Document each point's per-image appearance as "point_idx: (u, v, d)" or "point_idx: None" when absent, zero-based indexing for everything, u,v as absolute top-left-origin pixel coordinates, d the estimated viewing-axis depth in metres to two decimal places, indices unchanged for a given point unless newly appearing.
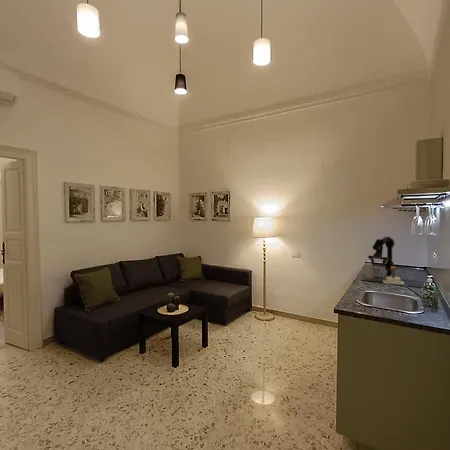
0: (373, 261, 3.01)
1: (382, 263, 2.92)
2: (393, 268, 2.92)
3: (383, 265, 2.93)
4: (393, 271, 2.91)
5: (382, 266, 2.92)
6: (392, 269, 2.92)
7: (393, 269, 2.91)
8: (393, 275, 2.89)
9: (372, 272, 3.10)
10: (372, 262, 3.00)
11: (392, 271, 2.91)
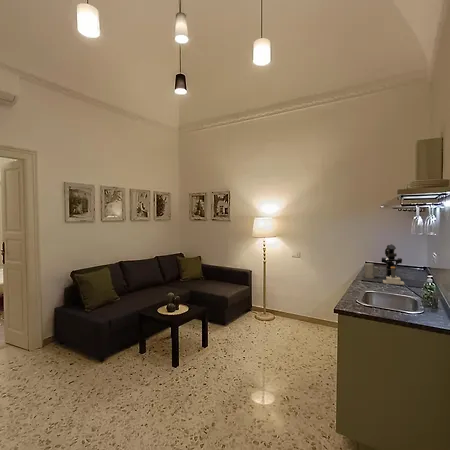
0: (387, 263, 3.06)
1: None
2: (393, 268, 2.92)
3: None
4: (393, 271, 2.91)
5: None
6: (392, 269, 2.92)
7: (393, 269, 2.91)
8: (393, 275, 2.89)
9: (372, 272, 3.10)
10: (387, 263, 3.04)
11: (392, 271, 2.91)
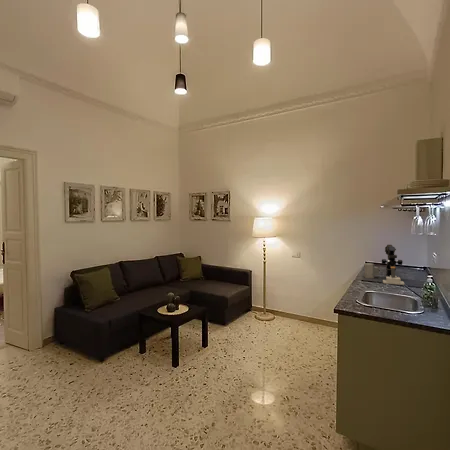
0: (391, 265, 3.01)
1: (392, 265, 2.99)
2: (393, 268, 2.92)
3: None
4: (393, 271, 2.91)
5: None
6: (392, 269, 2.92)
7: (393, 269, 2.91)
8: (393, 275, 2.89)
9: (372, 272, 3.10)
10: (391, 265, 2.99)
11: (392, 271, 2.91)
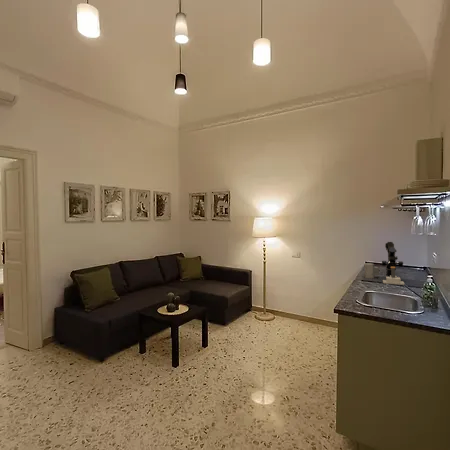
0: None
1: (393, 266, 2.94)
2: (393, 268, 2.92)
3: None
4: (393, 271, 2.91)
5: None
6: (392, 269, 2.92)
7: (393, 269, 2.91)
8: (393, 275, 2.89)
9: (372, 272, 3.10)
10: None
11: (392, 271, 2.91)
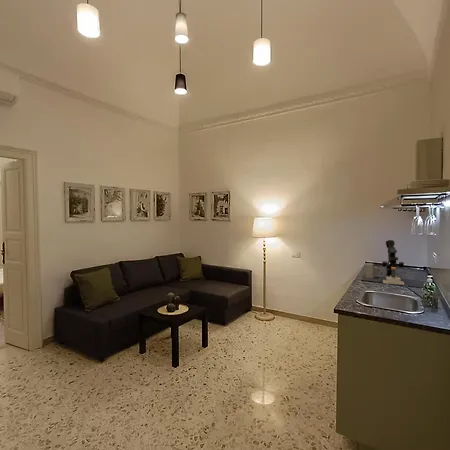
0: None
1: None
2: (394, 269, 2.86)
3: None
4: (393, 272, 2.87)
5: None
6: (393, 270, 2.86)
7: (394, 270, 2.86)
8: (393, 276, 2.88)
9: (372, 272, 3.10)
10: None
11: (392, 272, 2.87)
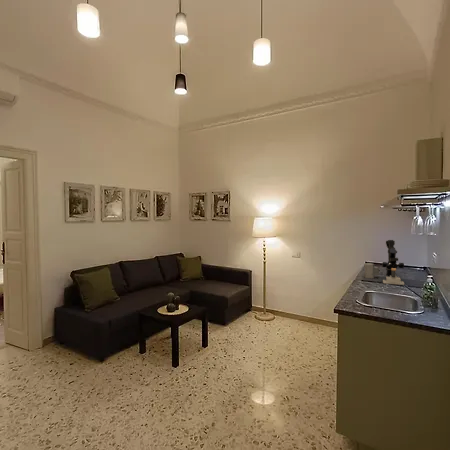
0: None
1: None
2: (394, 270, 2.84)
3: None
4: (394, 273, 2.86)
5: None
6: (393, 271, 2.85)
7: (394, 271, 2.85)
8: (393, 276, 2.88)
9: (372, 272, 3.10)
10: None
11: (392, 273, 2.86)
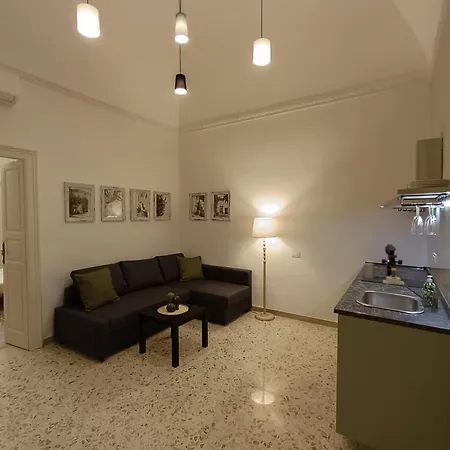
0: (391, 265, 3.01)
1: (392, 265, 2.99)
2: (394, 270, 2.84)
3: (393, 267, 2.99)
4: (394, 273, 2.86)
5: (392, 267, 2.98)
6: (393, 271, 2.85)
7: (394, 271, 2.85)
8: (393, 276, 2.88)
9: (372, 272, 3.10)
10: (391, 265, 2.99)
11: (392, 273, 2.86)
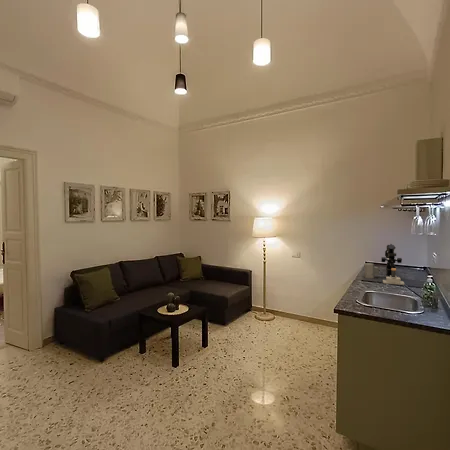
0: (391, 263, 3.06)
1: (392, 263, 3.04)
2: (394, 270, 2.84)
3: (392, 265, 3.04)
4: (394, 273, 2.86)
5: (392, 265, 3.02)
6: (393, 271, 2.85)
7: (394, 271, 2.85)
8: (393, 276, 2.88)
9: (372, 272, 3.10)
10: (391, 263, 3.04)
11: (392, 273, 2.86)
